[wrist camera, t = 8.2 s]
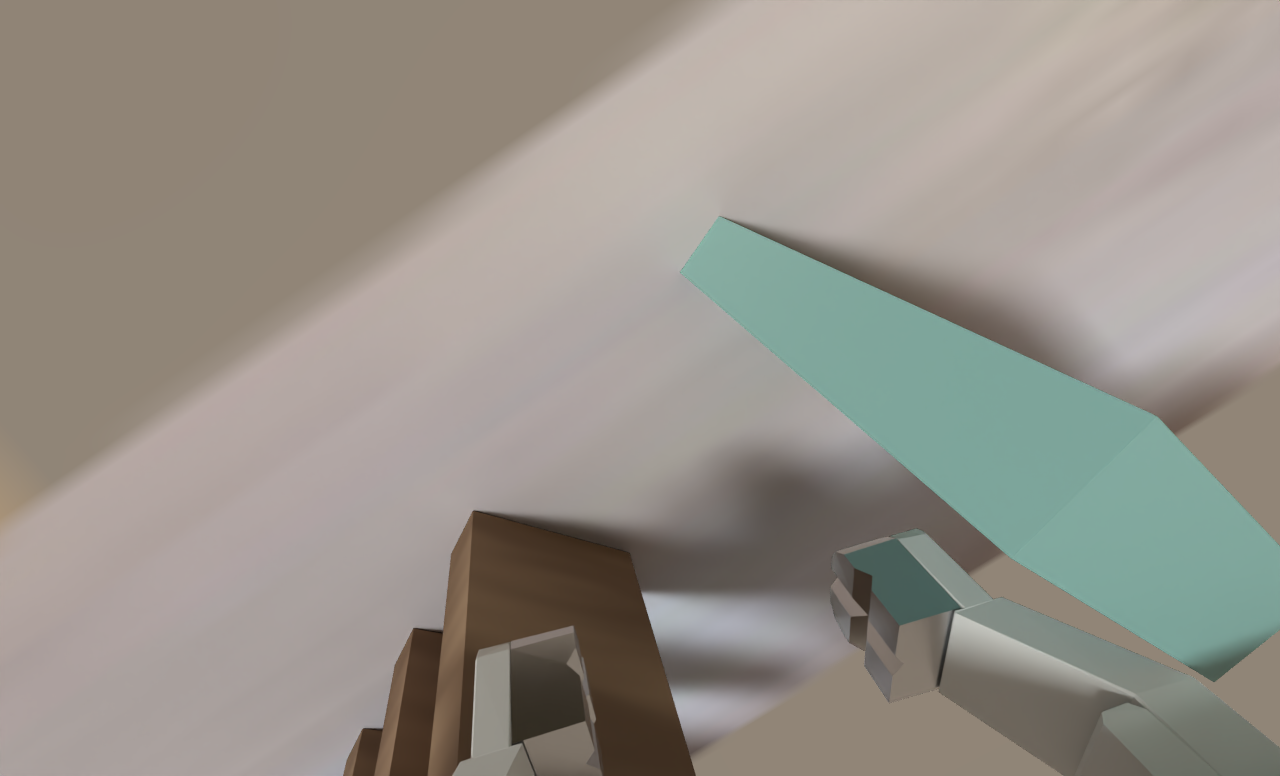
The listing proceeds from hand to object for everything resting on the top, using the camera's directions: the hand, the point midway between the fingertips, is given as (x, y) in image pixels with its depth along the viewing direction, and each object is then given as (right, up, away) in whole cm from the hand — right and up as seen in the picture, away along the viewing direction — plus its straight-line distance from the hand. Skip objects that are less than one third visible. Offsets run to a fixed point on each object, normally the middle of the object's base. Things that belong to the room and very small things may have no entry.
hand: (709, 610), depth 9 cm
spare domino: (+2, +6, +5) cm, 8 cm away
